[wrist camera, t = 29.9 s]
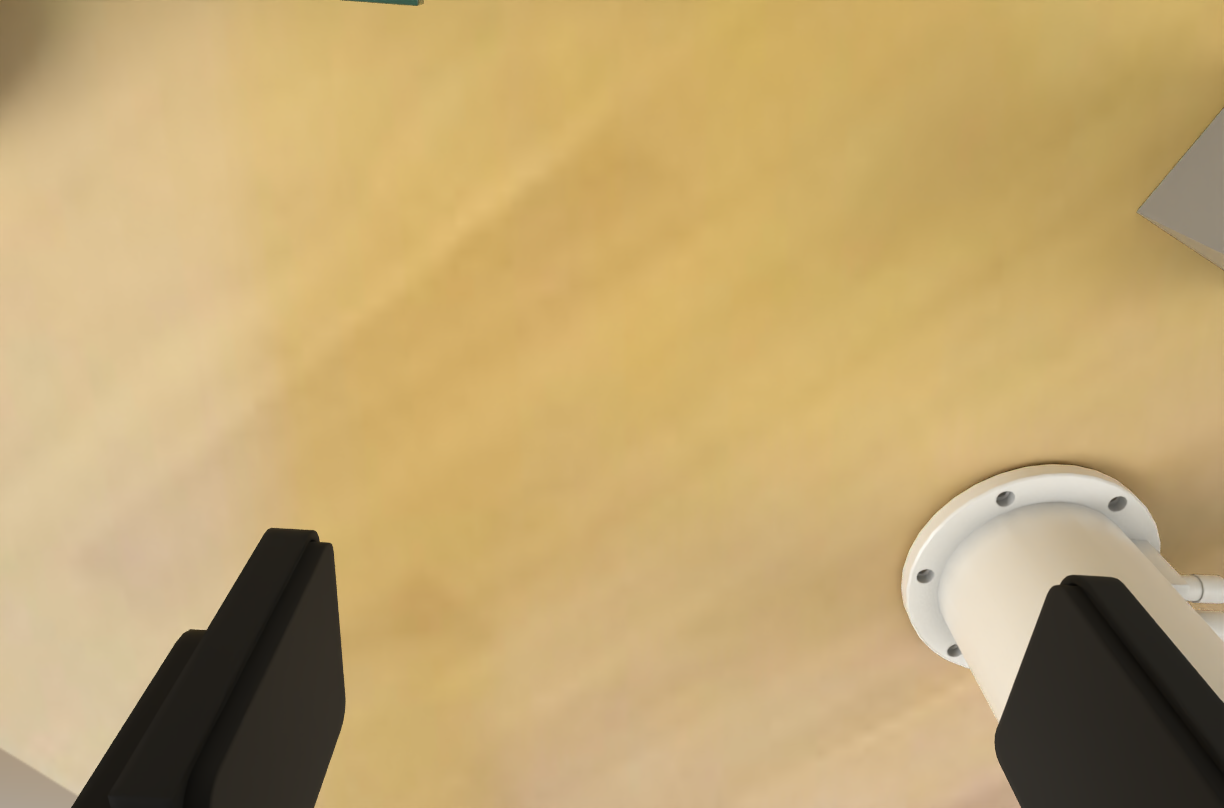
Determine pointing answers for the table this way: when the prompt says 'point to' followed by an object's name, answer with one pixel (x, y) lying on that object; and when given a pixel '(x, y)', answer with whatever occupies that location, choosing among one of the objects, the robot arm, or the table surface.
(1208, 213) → the perfume bottle
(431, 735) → the table surface
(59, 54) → the table surface
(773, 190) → the table surface
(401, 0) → the pot
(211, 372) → the table surface
